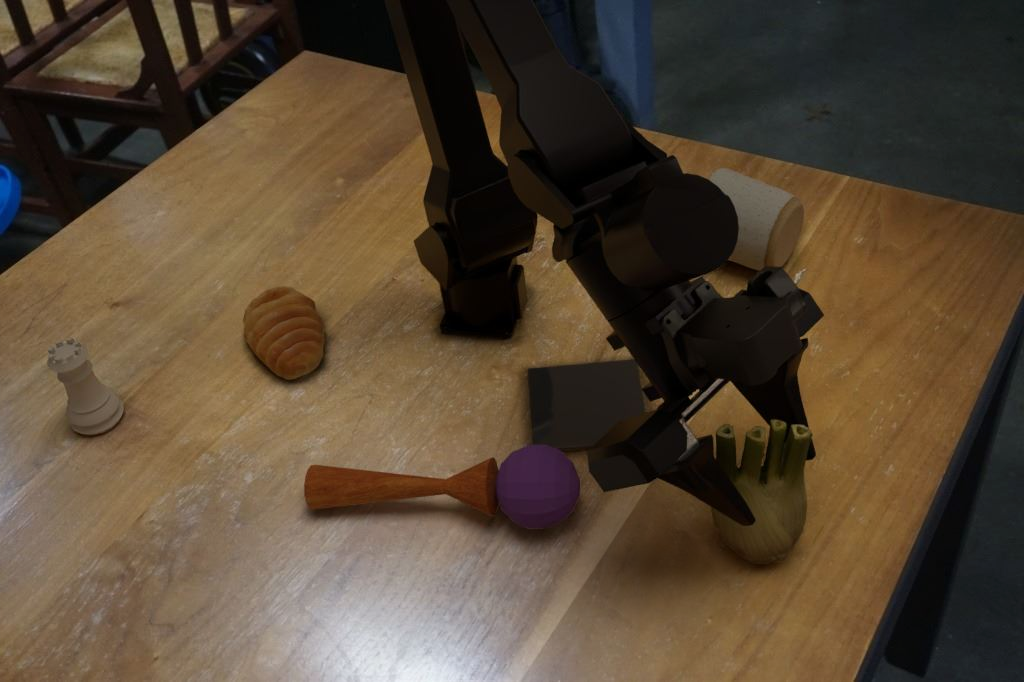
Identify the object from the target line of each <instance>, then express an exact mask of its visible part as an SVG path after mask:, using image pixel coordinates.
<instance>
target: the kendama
mask: <svg viewBox="0 0 1024 682" xmlns="http://www.w3.org/2000/svg"><path fill="white" fill-rule="evenodd" d="M303 495H304V500H305V503H306V506H307V507H308V508H309V509H310V510H311V511H313V510H322V509H329V508H330V509H331V508H338V507H339V508H340V507H347V506H355V505H364V504H372V503H382V502H390V501H400V500H409V499H416V498H425V497H434V496H441V495H442V496H443V495H446V496H448V497H450V498H452V499H454V500H457V501H459V502H461V503H463V504H465V505H468V506H469V507H471V508H474V509H475V510H478V511H480V512H482V513H484V514H486V515H488V516H490V517H494V516H495V515H496V514H497V512H498V508H500V509H501V511H502V512H503V513H504V514H505V515H506V516H507V517H508V518H509V519H510V520H511V522H513V523H514V524H516V525H519V526H521V527H523V528H526V529H528V530H546V529H549V528H551V527H553V526H556V525H559V524H561V523H562V522H563V521H565V519H566V518H568V517H569V515H570V514H571V513H572V512H573V511H574V510H575V508H576V505H577V503H578V500H579V497H580V495H581V478H580V476H579V473H578V471H577V468H576V466H575V464H574V462H573V461H572V460H571V458H570V457H568V455H566V453H564V452H562V451H561V450H558V449H556V448H554V447H551V446H549V445H546V444H545V445H532V444H527V445H525V446H523V447H520V448H518V449H516V450H513V451H511V452H510V453H509V454H508V456H507V457H506V458H505V459H504V460H503V461H502V462H501V463H500V466H498V462H497V460H496V458H495V457H494V456H493V457H490V458H487V459H485V460H483V461H481V462H479V463H477V464H475V465H472V466H471V467H468V468H467V469H464V470H462V471H460V472H458V473H456V474H453V475H452V476H450V477H448V478H447V477H446V478H442V477H441V478H439V477H433V476H432V477H430V476H421V475H413V474H403V473H395V472H384V471H376V470H366V469H356V468H348V467H342V466H341V467H340V466H330V465H321V464H311V465H310V466H309V467H308V468H307V471H306V474H305V476H304V484H303Z"/></svg>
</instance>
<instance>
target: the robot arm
mask: <svg viewBox="0 0 1024 682" xmlns="http://www.w3.org/2000/svg"><path fill="white" fill-rule="evenodd" d="M383 2H384V5H385V8H386V12H387V16H388V18H389V22H390V26H391V28H392V32H393V35H394V38H395V39H394V40H395V42H396V45H397V49H398V52H399V55H400V59H401V63H402V66H403V68H404V72H405V75H406V78H407V82H408V86H409V89H410V92H411V95H412V99H413V103H414V106H415V108H416V113H417V116H418V118H419V123H420V126H421V129H422V132H423V136H424V139H425V141H426V142H425V143H426V145H427V149H428V152H429V156H430V160H431V163H432V164H431V169H430V171H429V176H428V180H427V183H426V187H425V191H424V195H423V200H422V201H423V202H422V203H423V207H424V211H425V215H426V216H425V217H426V219H427V223H428V227H427V228H425V229H424V230H423V231H422V232H421V233H420V235H418V236H417V237H416V238H415V239H414V240H413V244H414V247H415V250H416V253H417V257H418V259H419V262H420V264H421V265H422V266H423V268H425V269H426V271H427V272H428V273H429V274H430V275H431V277H433V278H434V280H436V281H437V283H438V284H439V288H440V289H439V290H440V294H441V300H442V307H443V312H444V313H443V316H442V317H441V321H440V323H439V326H438V327H439V331H440V333H443V334H450V335H461V336H473V337H482V338H493V339H503V340H504V339H505V340H507V339H512V337H513V336H514V333H515V331H516V330H515V329H516V327H517V324H518V321H520V320H521V319H522V318H523V316H524V312H525V309H526V306H527V303H528V291H527V283H526V282H527V281H526V275H525V267H524V265H523V264H520V263H519V264H518V257H520V256H521V255H524V254H529V253H531V252H532V251H533V248H534V242H535V239H536V235H537V228H538V218H539V216H540V217H542V218H544V219H545V220H547V221H549V222H550V223H552V224H553V225H552V229H553V233H554V234H553V242H552V245H551V255H552V258H553V260H554V261H555V262H557V263H561V262H563V261H565V263H566V264H567V266H568V267H569V269H570V271H571V272H572V273H573V274H574V276H575V278H576V279H577V280H578V281H579V283H580V284H581V286H582V287H583V289H584V290H585V292H586V293H587V294H588V295H589V296H588V297H590V299H591V300H592V302H593V303H594V304H595V305H596V307H597V308H598V310H599V311H600V313H601V314H602V316H603V317H604V319H605V320H606V321H607V323H608V324H609V325H610V327H611V328H612V330H613V331H612V332H611V333H610V334H609V335H608V336H606V337H605V339H606V341H607V342H608V345H610V347H611V348H612V350H613V351H615V352H616V351H617V350H620V349H622V348H626V350H627V351H628V352H629V354H630V355H631V357H632V359H635V361H636V362H637V364H638V368H640V369H641V371H642V373H643V374H644V375H645V377H646V379H648V381H649V382H648V383H646V384H645V386H643V387H642V393H643V394H644V395H645V397H646V398H647V399H648V401H649V403H650V402H654V401H657V400H660V399H662V400H663V402H662V403H661V404H660V405H659V406H657V408H655V409H653V410H649V411H646V413H643V414H639V415H636V416H633V417H629V418H626V419H623V420H621V421H619V422H618V423H617V424H616V425H615V426H614V427H613V428H612V429H611V430H610V431H609V432H607V433H606V434H605V435H604V436H603V437H602V438H601V439H600V440H599V441H598V442H597V443H595V444H594V445H593V446H592V447H591V448H590V449H589V450H586V453H587V454H586V455H587V466H588V467H587V468H588V473H589V474H590V475H591V477H592V478H593V480H594V481H595V483H596V484H597V485H598V487H599V488H600V489H601V491H602V492H603V493H607V492H612V491H618V490H622V489H627V488H633V487H637V486H642V485H643V486H644V485H648V484H651V483H652V482H654V481H656V480H657V479H658V480H660V481H663V482H664V483H667V484H669V485H671V486H672V487H676V488H678V489H680V490H682V491H684V492H685V493H687V494H689V495H691V496H692V497H694V498H696V499H698V500H699V501H701V502H702V503H704V504H705V505H706V506H707V505H708V506H709V507H710V508H711V507H712V508H714V509H716V510H717V511H719V512H721V513H722V514H724V515H726V516H727V517H729V518H731V519H732V520H734V521H736V522H737V523H739V524H741V525H742V526H750V525H753V524H754V523H755V522H756V519H755V517H754V516H753V514H752V512H751V510H750V508H749V506H748V505H747V503H746V501H745V500H744V498H743V497H742V496H741V494H740V493H739V491H738V490H737V489H736V487H735V486H734V484H733V483H732V482H731V480H730V479H729V477H728V476H727V475H726V473H725V472H724V470H723V469H722V468H721V466H720V465H719V463H718V462H717V461H716V456H715V453H714V452H715V451H714V436H713V434H712V433H710V434H708V435H707V434H706V435H703V436H698V437H697V436H696V434H695V433H694V432H693V430H692V429H691V428H690V426H689V425H688V422H689V421H691V419H692V418H693V417H694V416H695V415H696V414H698V412H699V411H700V410H701V409H702V408H703V407H704V406H705V405H706V404H708V403H709V402H710V400H712V399H713V398H714V397H715V396H716V395H717V394H718V393H719V392H720V391H721V390H722V389H723V388H724V387H725V386H726V385H727V384H728V383H729V382H730V383H731V384H732V385H733V386H734V387H735V389H736V390H737V391H738V392H739V393H740V395H742V396H743V397H744V399H745V400H746V401H747V402H748V403H749V405H751V407H752V408H753V409H754V410H755V411H756V412H757V413H758V415H759V416H760V417H761V418H762V419H763V421H765V423H766V424H767V425H768V427H770V421H771V420H772V419H777V420H780V421H784V422H785V423H786V424H787V429H786V436H785V440H784V443H786V440H787V437H788V434H789V430H790V427H791V425H793V424H796V425H805V426H806V427H808V428H809V429H810V425H809V422H808V419H807V415H806V411H805V408H804V403H803V399H802V394H801V389H800V384H799V378H798V373H799V372H798V371H799V369H800V365H801V362H802V358H803V355H804V352H805V351H806V350H807V349H808V347H809V338H807V337H804V336H805V335H806V334H807V333H808V332H809V331H810V330H812V328H813V327H815V325H816V324H817V323H818V322H819V321H820V320H822V318H824V316H825V314H824V312H823V311H822V309H821V308H820V306H819V304H818V303H817V302H816V300H815V299H814V298H813V297H814V296H812V294H811V293H810V292H809V291H806V290H804V289H802V288H799V286H798V285H797V284H796V283H795V281H794V280H793V279H792V278H791V277H790V275H789V274H788V273H787V272H786V270H785V269H784V268H783V266H781V267H764V268H763V269H761V270H758V272H757V273H756V274H755V275H753V276H752V278H750V279H749V280H748V281H747V284H746V289H740V290H739V291H738V292H736V294H734V295H733V296H730V297H723V295H721V294H720V293H719V292H717V290H716V289H715V287H714V286H713V284H712V283H711V282H710V281H707V280H706V279H705V278H704V275H705V276H706V275H707V274H710V273H714V272H715V271H717V270H719V269H720V268H721V267H722V266H723V265H724V264H726V263H727V262H728V261H729V260H728V259H729V258H730V256H731V255H732V253H733V251H734V249H735V246H736V243H737V240H738V232H739V225H738V216H737V213H736V210H735V207H734V204H733V203H732V201H731V199H730V197H729V196H728V195H725V194H724V192H723V191H722V190H721V189H720V188H719V187H718V186H717V185H715V184H714V183H713V182H711V181H710V180H709V179H708V178H706V177H703V176H701V175H699V174H694V173H689V172H688V173H686V172H685V173H684V172H683V170H682V167H681V165H680V163H679V161H678V159H677V157H676V156H675V155H674V154H671V155H669V156H668V153H667V152H666V151H664V150H663V149H661V148H660V147H658V146H656V144H654V143H652V142H650V141H649V140H648V139H647V138H646V137H645V136H643V134H642V133H640V132H639V130H637V129H636V128H635V127H634V126H633V125H632V124H631V123H630V122H629V121H627V119H625V118H624V117H623V116H622V115H621V114H620V112H619V111H618V109H617V108H616V106H615V105H614V103H613V101H612V100H611V98H610V97H609V96H608V94H607V93H606V91H605V90H604V88H603V86H602V85H601V84H600V83H599V82H598V81H596V80H595V79H592V78H591V77H589V76H587V75H586V74H584V73H582V72H581V71H580V70H577V69H576V68H575V67H572V66H571V65H570V64H568V62H567V60H566V59H565V57H564V56H563V54H562V53H561V51H560V49H559V48H558V46H557V44H556V42H555V40H554V39H553V36H552V34H551V33H550V31H549V29H548V26H547V25H546V23H545V22H544V19H543V17H542V16H541V14H540V12H539V9H538V8H537V6H536V4H535V3H534V1H533V0H383ZM460 30H461V31H462V34H463V35H464V38H465V39H466V41H467V43H468V45H469V47H470V49H471V51H472V53H473V55H474V57H475V58H476V60H477V62H478V64H479V66H480V68H481V70H482V72H483V74H484V76H485V77H486V79H487V81H488V84H489V85H490V88H491V89H492V91H493V92H494V95H495V98H496V100H497V102H498V105H499V107H500V110H501V111H500V123H499V125H500V126H499V138H498V145H499V148H500V150H501V152H502V154H503V157H504V159H505V162H506V163H505V162H504V161H502V160H501V159H500V158H499V157H498V156H497V155H496V154H495V153H494V151H493V149H492V145H491V141H490V138H489V134H488V130H487V127H486V123H485V119H484V116H483V112H482V107H481V104H480V100H479V97H478V93H477V90H476V89H477V88H476V87H475V82H474V78H473V74H472V71H471V67H470V64H469V59H468V56H467V53H466V49H465V45H464V42H463V38H462V34H461V31H460ZM538 215H539V216H538ZM802 337H804V338H802ZM694 393H695V394H694ZM693 394H694V395H693ZM691 396H692V397H691ZM690 397H691V398H690ZM816 456H817V453H816V448H815V445H814V441H813V437H812V438H811V441H810V445H809V448H808V452H807V457H806V462H807V461H812V460H814V459H815V458H816Z"/></svg>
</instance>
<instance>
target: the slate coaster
mask: <svg viewBox="0 0 1024 682" xmlns="http://www.w3.org/2000/svg"><path fill="white" fill-rule="evenodd" d="M527 379H528V380H527V381H528V397H529V415H530V429H531V430H530V431H531V445H545V444H546V445H549V446H551V447H554V448H556V449H558V450H561V451H562V452H563V453H564V452H576V451H588V450H589V449H590V448H591V447H592V446H593V445H594V444H595V443H597V442H598V441H599V440H600V439H601V438H602V437H603V436H604V435H605V434H606V433H607V432H609V431H610V430H611V429H612V428H613V427H614V426H615V425H616V424H617V423H618V422H619V421H621V420H623V419H626V418H629V417H633V416H636V415H639V414H643V413H646V412H647V410H646V405H645V399H644V392H643V391H642V388H643V387H642V381H641V376H640V369H639V365H638V364H637V362H636V361H635V359H634V358H631V359H620V360H610V361H598V362H587V363H585V362H584V363H574V364H565V365H564V364H563V365H554V366H553V365H552V366H542V367H530V368H527Z"/></svg>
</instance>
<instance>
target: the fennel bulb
mask: <svg viewBox="0 0 1024 682" xmlns="http://www.w3.org/2000/svg"><path fill="white" fill-rule="evenodd" d="M786 429H787V424H786V423H785V422H784V421H780V420H777V419H772V420H771V421H770V426H769V432H768V437H767V440H766V428H765V427H764V426H762V425H755V426H754V427H751V428H750V429H748V430H747V431H746V433H745V439H744V442H743V449H742V452H741V459H740V465H739V466H738V464H737V463H738V462H737V461H738V460H737V440H736V434H735V427H734V425H731V424H730V423H724V424H723V425H721V426H719V427H718V428H717V429H716V431H715V459H716V461H717V462H718V463H719V465H720V466H721V468H722V469H723V470H724V472H725V473H726V475H727V476H728V477H729V479H730V480H731V482H732V483H733V484H734V486H735V487H736V489H737V490H738V491H739V493H740V494H741V496H742V497H743V498H744V500H745V501H746V503H747V505H748V506H749V508H750V510H751V512H752V514H753V516H754V517H755V519H756V522H755V523H754V524H753V525H750V526H742V525H741V524H739V523H737V522H736V521H734V520H732V519H731V518H729V517H727V516H726V515H724V514H722V513H721V512H719V511H717V510H716V509H714V508H712V507H711V506H710V512H711V519H712V522H713V525H714V527H715V529H717V531H718V533H719V536H720V539H722V541H723V543H724V544H725V545H727V546H728V547H730V549H731V550H733V552H734V553H735V554H737V555H739V557H741V559H743V560H745V561H746V562H750V563H753V564H756V565H768V564H769V565H770V564H775V563H777V562H778V563H779V562H780V561H783V560H784V559H785V558H786V557H788V555H789V554H790V551H791V549H792V548H793V547H794V546H795V545H796V543H797V542H798V541H799V540H800V538H801V536H802V534H803V533H804V529H805V525H806V521H807V512H808V500H807V499H808V498H807V497H808V496H807V490H806V482H805V466H806V462H807V461H806V457H807V452H808V448H809V445H810V441H811V438H812V439H813V435H814V434H813V432H812V430H811V429H810V427H809V428H808V427H806V426H805V425H796V424H793V425H791V427H790V430H789V434H788V437H787V440H786V443H784V440H785V436H786ZM766 443H767V445H766Z"/></svg>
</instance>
